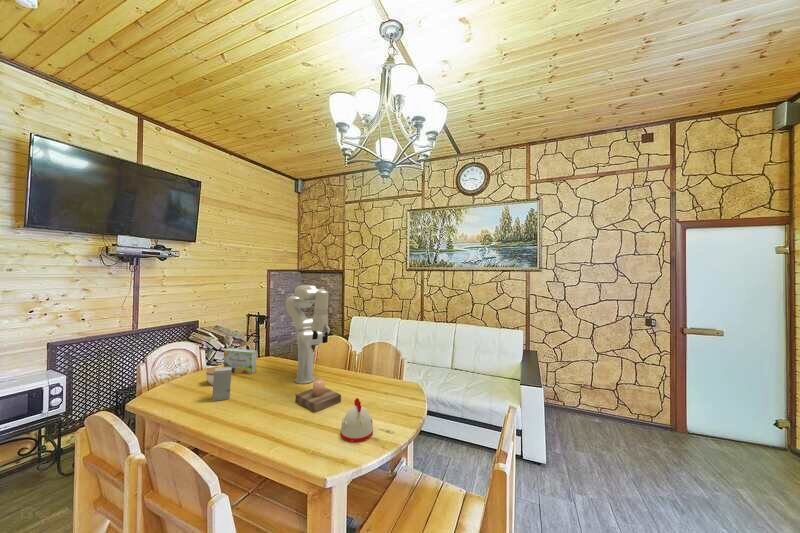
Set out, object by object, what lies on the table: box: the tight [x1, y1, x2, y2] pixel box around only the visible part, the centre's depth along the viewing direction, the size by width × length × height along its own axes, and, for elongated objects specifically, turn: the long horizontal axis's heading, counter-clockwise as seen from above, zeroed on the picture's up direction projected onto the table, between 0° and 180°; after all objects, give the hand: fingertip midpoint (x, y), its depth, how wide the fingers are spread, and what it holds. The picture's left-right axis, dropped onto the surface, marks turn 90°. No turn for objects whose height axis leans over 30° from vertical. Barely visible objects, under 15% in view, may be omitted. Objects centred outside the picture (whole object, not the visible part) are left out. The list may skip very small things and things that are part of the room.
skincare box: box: [211, 366, 233, 402], centre depth 162 cm, size 8×7×16 cm
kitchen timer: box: [340, 397, 374, 443], centre depth 131 cm, size 14×14×15 cm
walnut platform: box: [295, 386, 342, 413], centre depth 160 cm, size 18×16×4 cm
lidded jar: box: [205, 367, 219, 386], centre depth 182 cm, size 11×11×9 cm
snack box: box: [223, 347, 257, 375], centre depth 203 cm, size 21×6×15 cm, turn 81°
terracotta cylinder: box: [312, 378, 326, 396], centre depth 160 cm, size 6×6×7 cm
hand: (319, 340), depth 174 cm, fingers open, 9 cm apart
